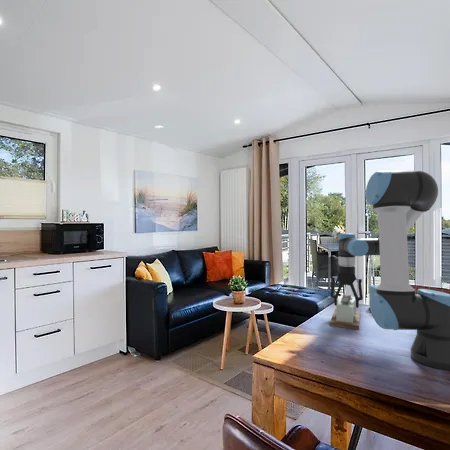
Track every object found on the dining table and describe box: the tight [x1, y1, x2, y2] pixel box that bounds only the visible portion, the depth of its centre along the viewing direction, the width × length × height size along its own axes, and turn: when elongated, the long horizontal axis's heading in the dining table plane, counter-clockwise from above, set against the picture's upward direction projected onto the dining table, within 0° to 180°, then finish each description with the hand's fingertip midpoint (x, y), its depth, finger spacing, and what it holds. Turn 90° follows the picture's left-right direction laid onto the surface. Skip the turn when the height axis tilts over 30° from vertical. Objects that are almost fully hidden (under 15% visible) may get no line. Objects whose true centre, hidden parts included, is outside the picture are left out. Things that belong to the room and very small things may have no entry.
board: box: [329, 293, 362, 330], centre depth 153 cm, size 25×12×11 cm, turn 155°
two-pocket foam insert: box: [335, 295, 356, 323], centre depth 154 cm, size 21×7×7 cm, turn 155°
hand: (346, 313), depth 154 cm, fingers closed on two-pocket foam insert, 7 cm apart
